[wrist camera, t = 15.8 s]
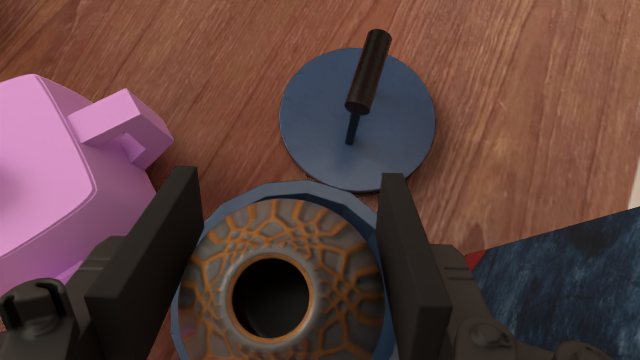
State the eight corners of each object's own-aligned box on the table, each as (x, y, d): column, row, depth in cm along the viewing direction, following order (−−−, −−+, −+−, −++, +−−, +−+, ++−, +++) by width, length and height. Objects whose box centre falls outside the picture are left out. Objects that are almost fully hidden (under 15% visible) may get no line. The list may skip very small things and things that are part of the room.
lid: (446, 78, 38) (486, 11, 29) (411, 215, 34) (446, 185, 25) (307, 38, 39) (306, -38, 30) (258, 167, 35) (241, 123, 26)
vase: (358, 213, 19) (395, 143, 10) (379, 376, 17) (447, 450, 8) (207, 228, 18) (121, 167, 10) (211, 396, 17) (108, 494, 8)
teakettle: (198, 139, 36) (141, 59, 24) (137, 343, 31) (28, 371, 19) (12, 104, 36) (-133, 9, 24) (-76, 300, 31) (-311, 300, 20)
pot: (397, 246, 33) (439, 219, 22) (354, 410, 30) (379, 475, 19) (252, 200, 34) (224, 153, 23) (194, 355, 31) (128, 386, 20)
